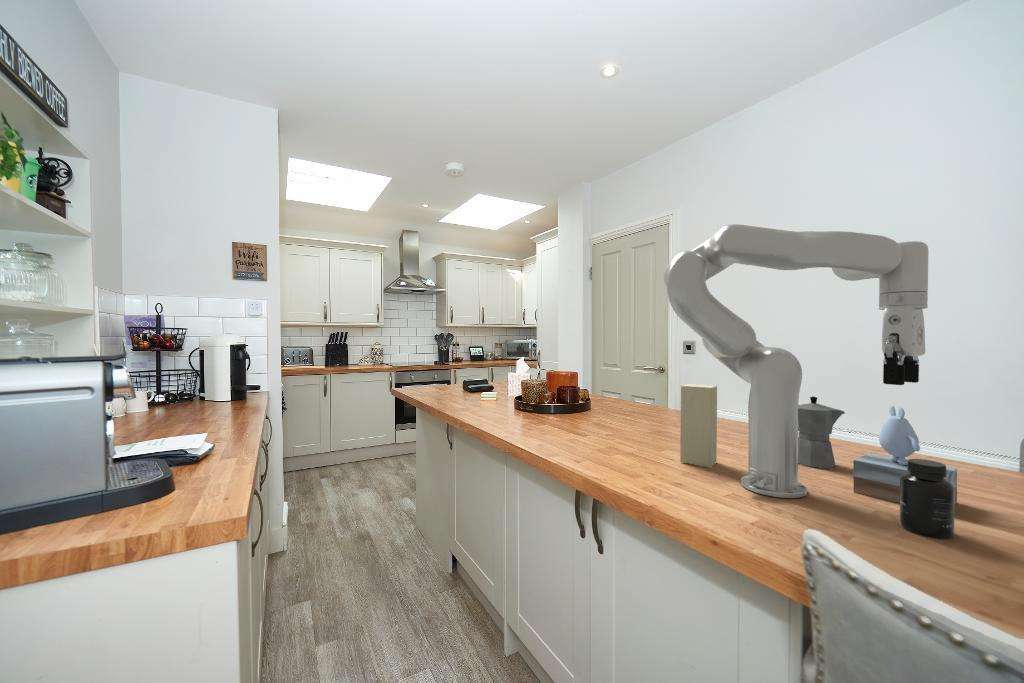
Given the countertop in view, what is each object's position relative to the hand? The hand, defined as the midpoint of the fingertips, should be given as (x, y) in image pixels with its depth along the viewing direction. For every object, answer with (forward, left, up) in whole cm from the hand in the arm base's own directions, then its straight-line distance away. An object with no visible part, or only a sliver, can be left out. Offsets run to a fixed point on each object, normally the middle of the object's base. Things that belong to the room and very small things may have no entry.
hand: (901, 383), depth 88 cm
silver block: (0, 0, -24) cm, 24 cm away
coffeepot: (+12, +22, -24) cm, 35 cm away
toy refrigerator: (-12, +39, -24) cm, 47 cm away
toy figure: (0, 0, -17) cm, 17 cm away
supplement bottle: (-17, -7, -24) cm, 30 cm away
